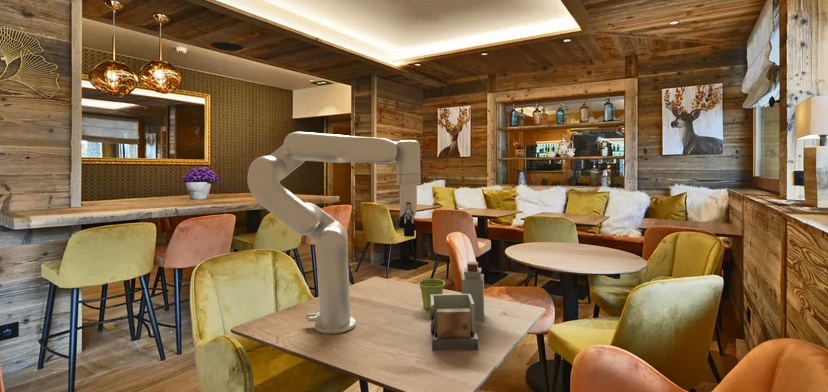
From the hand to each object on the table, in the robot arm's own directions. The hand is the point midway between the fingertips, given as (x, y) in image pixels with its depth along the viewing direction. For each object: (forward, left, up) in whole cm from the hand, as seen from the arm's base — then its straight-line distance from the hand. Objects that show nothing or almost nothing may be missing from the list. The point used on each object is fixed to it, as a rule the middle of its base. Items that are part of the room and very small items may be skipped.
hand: (409, 233), depth 131 cm
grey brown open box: (+12, -19, -28) cm, 36 cm away
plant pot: (+7, +12, -28) cm, 32 cm away
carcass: (+12, -13, -28) cm, 33 cm away
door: (+12, -19, -28) cm, 36 cm away
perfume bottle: (+20, +1, -28) cm, 35 cm away
